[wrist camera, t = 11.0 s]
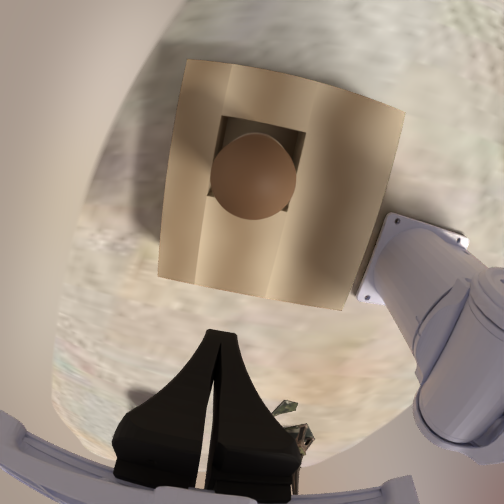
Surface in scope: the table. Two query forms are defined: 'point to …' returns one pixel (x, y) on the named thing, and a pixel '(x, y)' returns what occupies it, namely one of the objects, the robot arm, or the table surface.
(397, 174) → the table surface
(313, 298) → the socket block
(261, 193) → the peg
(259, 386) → the table surface
